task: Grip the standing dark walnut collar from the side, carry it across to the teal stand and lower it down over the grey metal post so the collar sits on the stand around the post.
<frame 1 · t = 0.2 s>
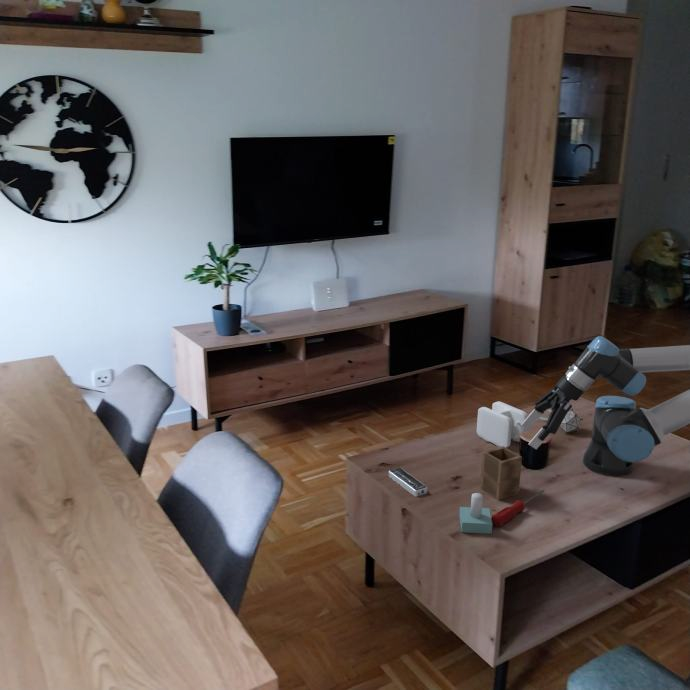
hand: (528, 436, 213), 15 cm above the table, tool tilted 35°, fingers open, 13 cm apart
pliers: (553, 420, 263), on the table
post stand: (475, 524, 194), on the table
multiport hub: (407, 486, 215), on the table
cable organizer: (500, 440, 246), on the table
game die: (568, 432, 252), on the table
screwdriver: (520, 511, 202), on the table
walnut collar: (499, 490, 212), on the table
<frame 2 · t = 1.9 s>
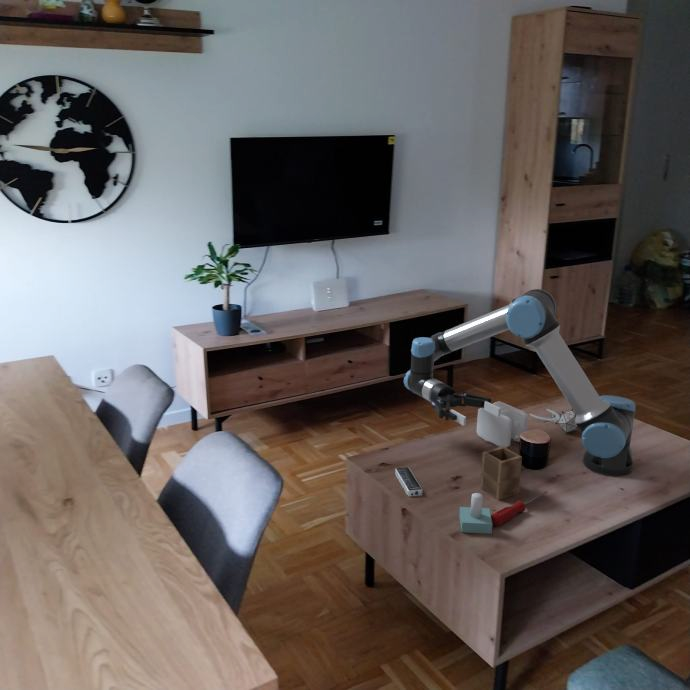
hand: (482, 417, 213), 20 cm above the table, tool horizontal, fingers open, 13 cm apart
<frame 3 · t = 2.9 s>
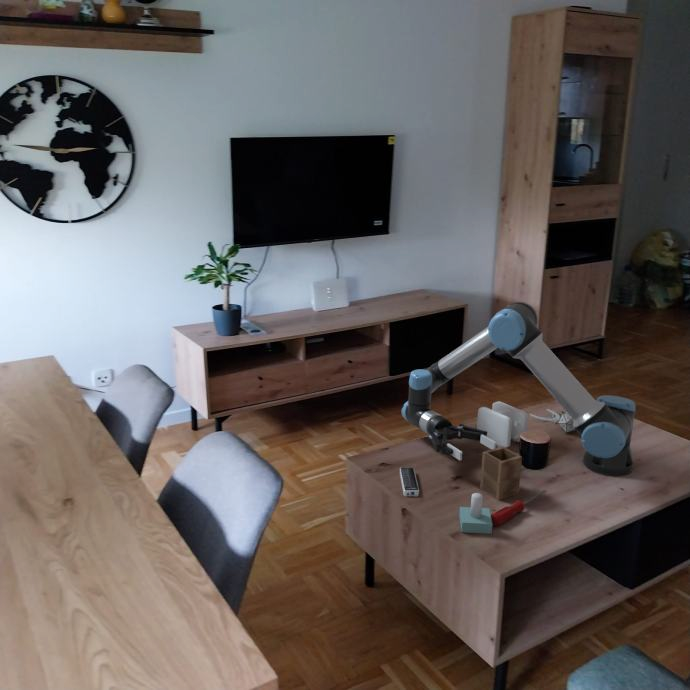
hand: (478, 451, 217), 9 cm above the table, tool horizontal, fingers open, 13 cm apart
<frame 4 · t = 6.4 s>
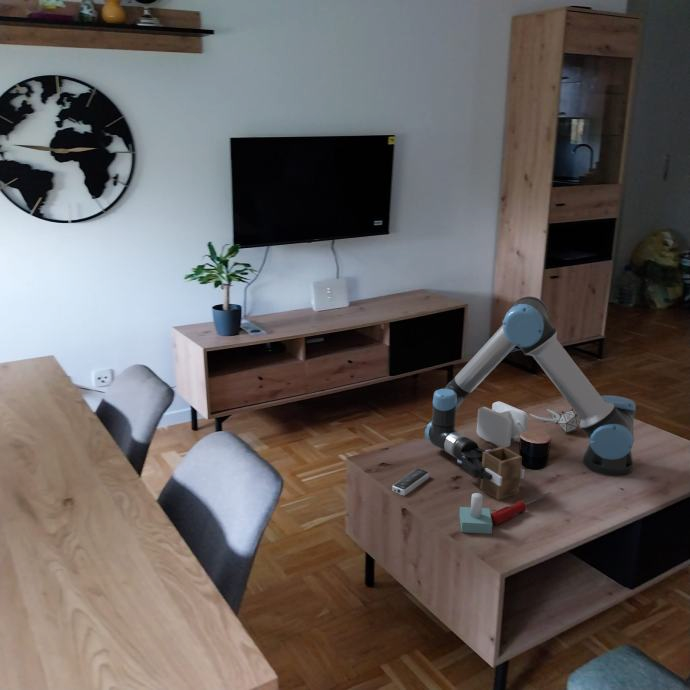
hand: (512, 478, 206), 7 cm above the table, tool horizontal, fingers closed on walnut collar, 8 cm apart
walnut collar: (499, 490, 212), on the table, touching gripper
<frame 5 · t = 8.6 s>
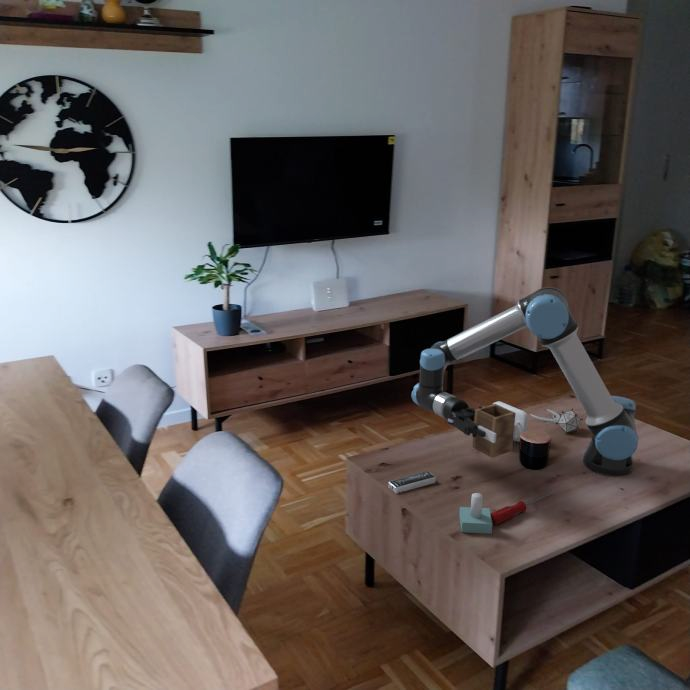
hand: (506, 434, 200), 21 cm above the table, tool horizontal, fingers closed on walnut collar, 8 cm apart
walnut collar: (492, 449, 206), point 14 cm above the table, touching gripper
when the fingers open (11 cm above the table, at t = 11.7 s): walnut collar drops 1 cm, resting on screwdriver.
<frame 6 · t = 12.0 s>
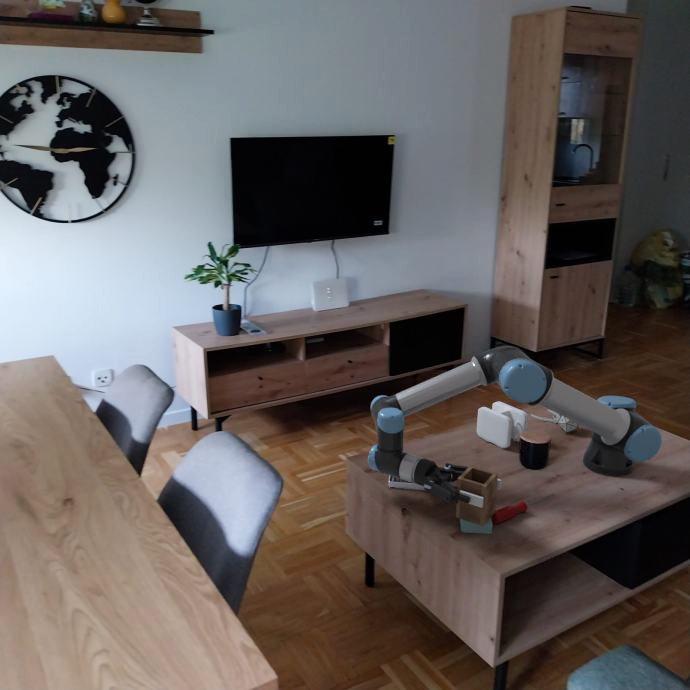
hand: (491, 493, 188), 11 cm above the table, tool horizontal, fingers open, 11 cm apart
screwdriver: (524, 511, 201), on the table, touching walnut collar
walnut collar: (475, 514, 193), point 3 cm above the table, touching screwdriver
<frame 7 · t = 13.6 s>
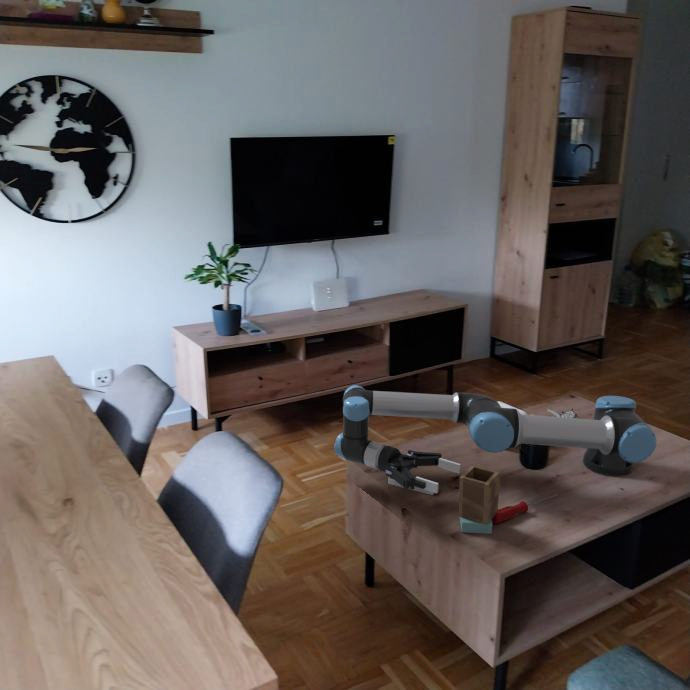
hand: (449, 478, 195), 12 cm above the table, tool horizontal, fingers open, 13 cm apart
walnut collar: (478, 513, 193), point 3 cm above the table, touching post stand, screwdriver
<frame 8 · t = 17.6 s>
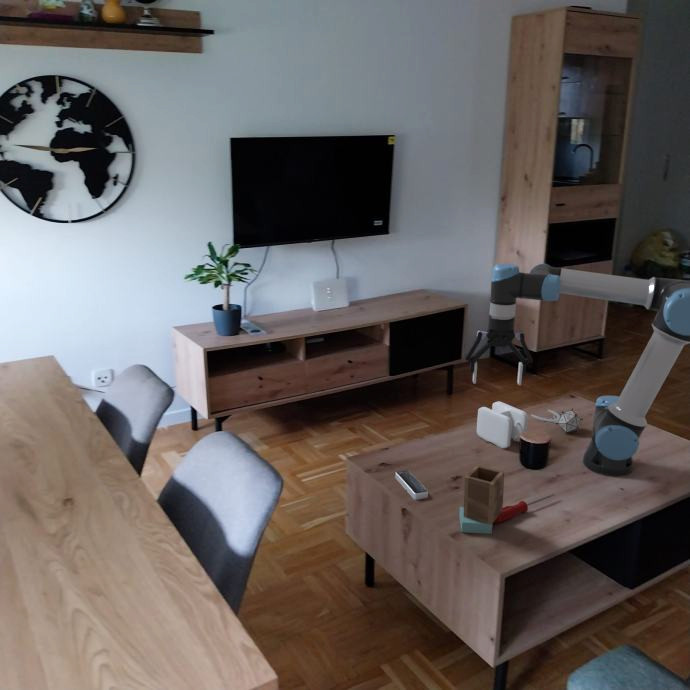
hand: (496, 383, 217), 29 cm above the table, tool pointing down, fingers open, 13 cm apart
walnut collar: (483, 513, 193), point 3 cm above the table, touching post stand, screwdriver
at the end: walnut collar 2.1 cm off-centre on the post stand, point 3.2 cm above the post stand's base; walnut collar tilted 2°; the gripper is holding nothing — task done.
